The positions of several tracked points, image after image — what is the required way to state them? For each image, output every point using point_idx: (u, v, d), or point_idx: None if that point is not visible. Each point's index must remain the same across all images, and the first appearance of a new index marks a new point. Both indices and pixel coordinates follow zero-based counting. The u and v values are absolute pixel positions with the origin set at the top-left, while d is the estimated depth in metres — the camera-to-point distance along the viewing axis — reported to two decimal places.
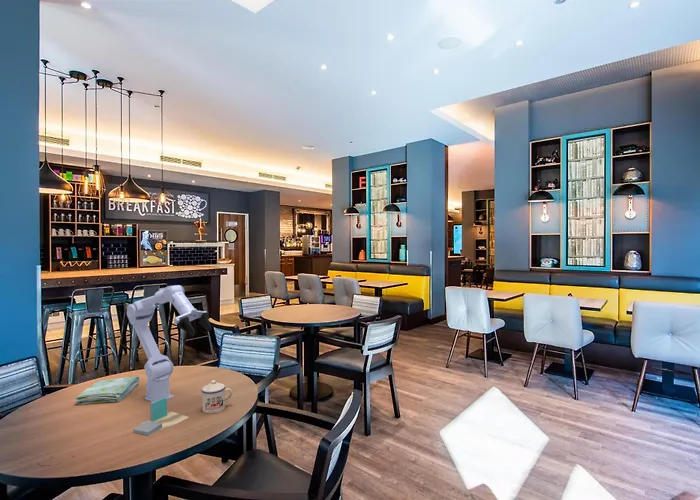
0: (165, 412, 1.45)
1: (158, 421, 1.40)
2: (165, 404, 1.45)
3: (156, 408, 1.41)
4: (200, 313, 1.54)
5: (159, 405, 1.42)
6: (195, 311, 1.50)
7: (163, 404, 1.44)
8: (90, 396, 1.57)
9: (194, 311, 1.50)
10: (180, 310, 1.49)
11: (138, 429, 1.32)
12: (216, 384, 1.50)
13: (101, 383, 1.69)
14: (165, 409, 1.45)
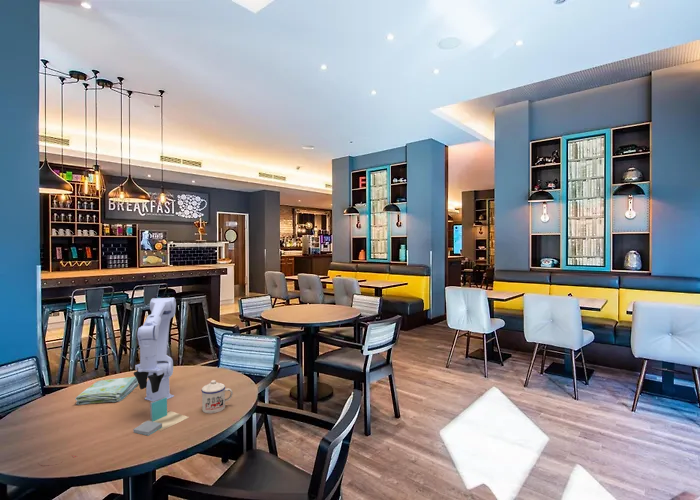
0: (165, 412, 1.45)
1: (158, 421, 1.40)
2: (165, 404, 1.45)
3: (156, 408, 1.41)
4: None
5: (159, 405, 1.42)
6: None
7: (163, 404, 1.44)
8: (90, 396, 1.57)
9: None
10: None
11: (138, 429, 1.32)
12: (216, 384, 1.50)
13: (101, 383, 1.69)
14: (165, 409, 1.45)
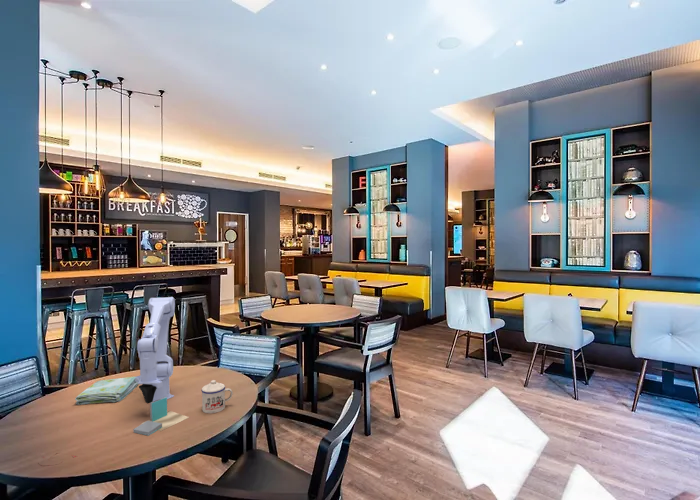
0: (165, 412, 1.45)
1: (158, 421, 1.40)
2: (165, 404, 1.45)
3: (156, 408, 1.41)
4: None
5: (159, 405, 1.42)
6: None
7: (163, 404, 1.44)
8: (90, 396, 1.57)
9: None
10: None
11: (138, 429, 1.32)
12: (216, 384, 1.50)
13: (100, 383, 1.69)
14: (165, 409, 1.45)
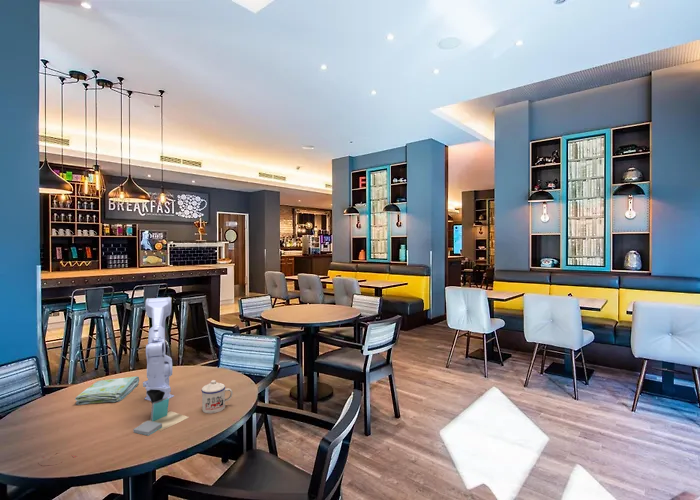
0: (165, 412, 1.45)
1: (158, 421, 1.40)
2: (166, 405, 1.44)
3: (157, 409, 1.41)
4: None
5: (161, 406, 1.42)
6: None
7: (165, 405, 1.43)
8: (90, 396, 1.57)
9: None
10: None
11: (138, 429, 1.32)
12: (216, 384, 1.50)
13: (100, 383, 1.69)
14: (166, 410, 1.44)
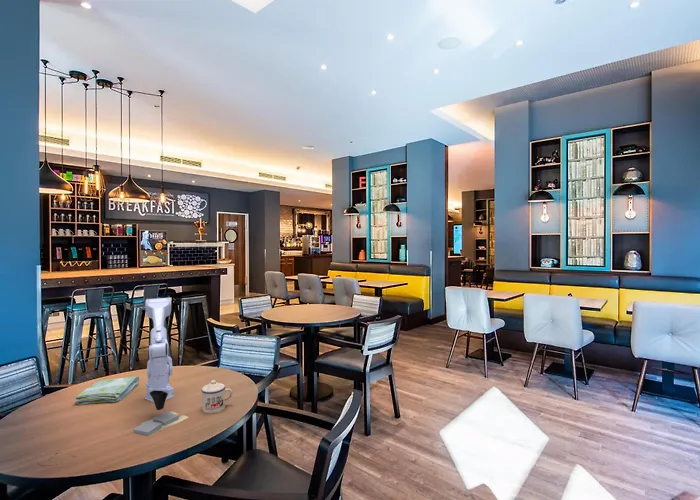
0: None
1: None
2: None
3: None
4: None
5: None
6: None
7: None
8: (90, 396, 1.57)
9: None
10: None
11: (138, 429, 1.32)
12: (216, 384, 1.50)
13: (100, 383, 1.69)
14: None
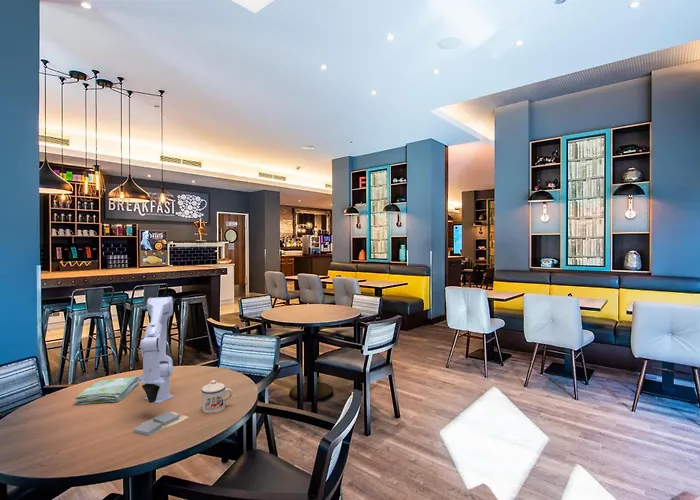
0: None
1: None
2: None
3: None
4: None
5: None
6: None
7: None
8: (90, 396, 1.57)
9: None
10: None
11: (138, 429, 1.32)
12: (216, 384, 1.50)
13: (100, 383, 1.69)
14: None
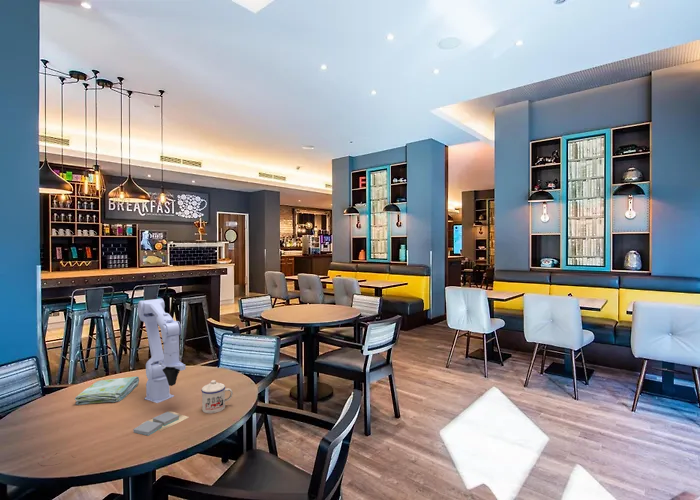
0: None
1: None
2: None
3: None
4: None
5: None
6: (166, 366, 1.48)
7: None
8: (89, 396, 1.57)
9: None
10: None
11: (138, 429, 1.32)
12: (216, 384, 1.50)
13: (100, 383, 1.69)
14: None
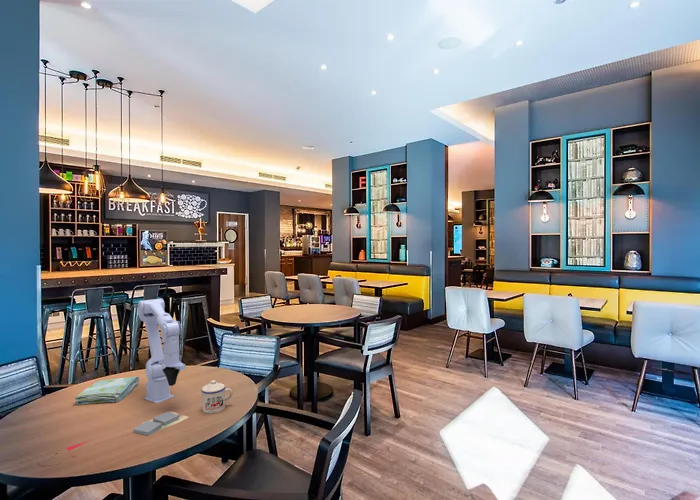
0: None
1: None
2: None
3: None
4: None
5: None
6: (166, 366, 1.48)
7: None
8: (89, 396, 1.57)
9: None
10: None
11: (138, 429, 1.32)
12: (216, 384, 1.50)
13: (100, 383, 1.69)
14: None
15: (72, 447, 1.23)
